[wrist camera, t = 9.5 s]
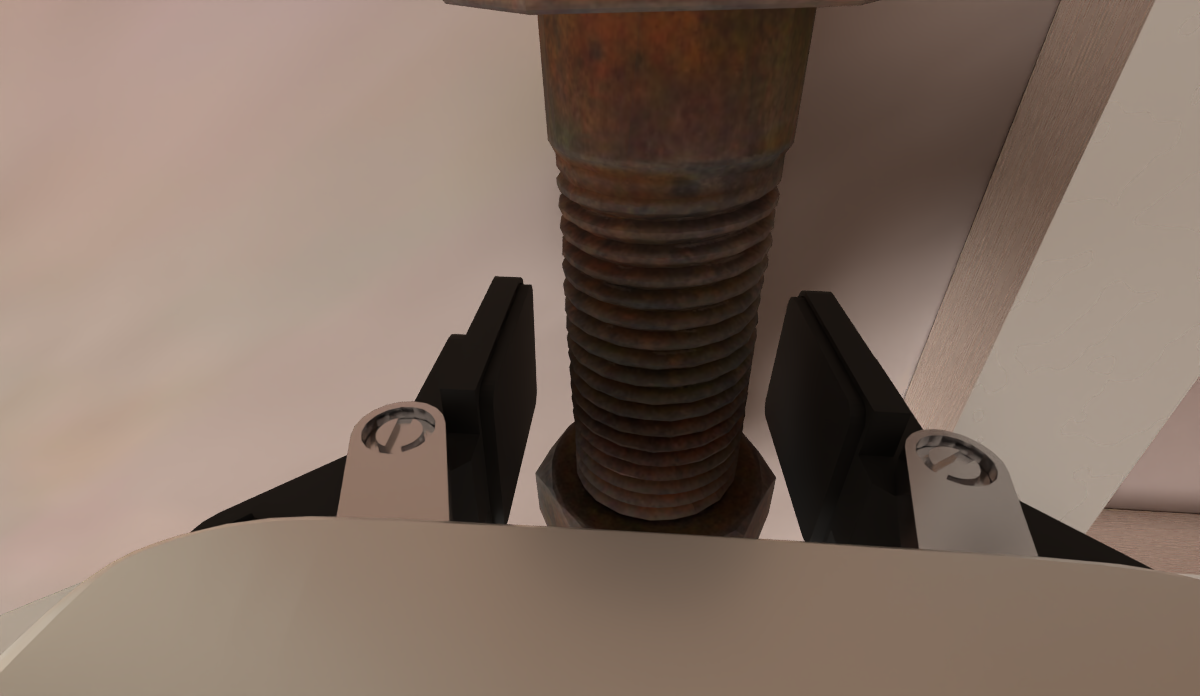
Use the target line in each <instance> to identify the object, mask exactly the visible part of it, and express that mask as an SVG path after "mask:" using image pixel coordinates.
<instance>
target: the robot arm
mask: <svg viewBox="0 0 1200 696" xmlns="http://www.w3.org/2000/svg"><path fill="white" fill-rule="evenodd" d="M536 396H537V384H536V359H535V335H534V311H533V289H532V285H524V284H523V279H522V278H521V277H499V276H495V277H494V279H493V281H492V283H491V285H490V287H489V289H488V291H487V293H486V295H485V297H484V299H483V301H482V303H481V305H480V307H479V309H478V311H477V313H476V315H475V317H474V319H473V321H472V323H471V325H470V327H469V330H468V332H467V334H466V335H463V334H452V335H451V336H450V337H449V338H448V340H447V342H446V344H445V346H444V347H443V349H442V351H441V353H440V355H439V357H438V359H437V361H436V362H435V364H434V366H433V368H432V370H431V372H430V374H429V375H428V377H427V379H426V381H425V383H424V385H423V387H422V388H421V390H420V392H419V394H418V396H417V398H416V400H415V401H411V402H398V403H393V404H388V405H385V406H383V407H380V408H378V409H375V410H373V411H372V412H370V413H369V414H367V415H366V416H364V417H363V418H362V419H361V420H360V421H359V422H358V423H357V424H356V425H355V426H354V429H353V431H352V433H351V436H350V442H349V448H348V453H347V455H346V456H344V457H342V458H340V459H337V460H335V461H333V462H331V463H329V464H326V465H324V466H322V467H320V468H317V469H315V470H313V471H311V472H309V473H306V474H304V475H302V476H300V477H297V478H295V479H293V480H291V481H289V482H286V483H284V484H282V485H280V486H278V487H275V488H273V489H271V490H269V491H266V492H264V493H262V494H260V495H258V496H255V497H253V498H251V499H249V500H246V501H244V502H242V503H240V504H238V505H235V506H233V507H231V508H229V509H226V510H224V511H222V512H220V513H218V514H216V515H214V516H213V517H211V518H209V519H207V520H205V521H204V522H202V523H201V524H200V525H199V526H197V527H196V528H195V529H194V530H192V531H191V532H190V533H186V534H182V535H179V536H175V537H172V538H169V539H166V540H163V541H160V542H157V543H154V544H152V545H149V546H146V547H144V548H141V549H138V550H136V551H133V552H131V553H129V554H127V555H126V556H124V557H122V558H120V559H118V560H116V561H114V562H112V563H110V564H108V565H107V566H105V567H104V568H102V569H101V570H99V571H98V572H96V573H95V574H93V575H92V576H90V577H89V578H88V579H86V580H85V581H84V582H81V583H79V584H76V585H74V586H71V587H69V588H66V589H64V590H61V591H59V592H56V593H54V594H52V595H49V596H47V597H44V598H42V599H39V600H37V601H34V602H32V603H29V604H27V605H24V606H22V607H20V608H17V609H15V610H12V611H10V612H7V613H5V614H2V615H0V696H1200V579H1196V578H1192V577H1188V576H1183V575H1179V574H1175V573H1170V572H1165V571H1159V570H1154V569H1152V568H1150V567H1148V566H1146V565H1144V564H1142V563H1140V562H1139V561H1137V560H1135V559H1133V558H1131V557H1129V556H1127V555H1125V554H1123V553H1121V552H1119V551H1117V550H1115V549H1113V548H1111V547H1109V546H1107V545H1105V544H1103V543H1101V542H1100V541H1098V540H1096V539H1094V538H1092V537H1090V536H1088V535H1086V534H1084V533H1082V532H1080V531H1078V530H1076V529H1074V528H1072V527H1070V526H1068V525H1066V524H1064V523H1062V522H1061V521H1059V520H1057V519H1055V518H1053V517H1051V516H1049V515H1047V514H1045V513H1043V512H1041V511H1039V510H1037V509H1035V508H1033V507H1031V506H1029V505H1027V504H1025V503H1023V502H1021V501H1020V500H1018V497H1017V494H1016V491H1015V488H1014V485H1013V482H1012V480H1011V477H1010V474H1009V471H1008V470H1007V468H1006V466H1005V464H1004V463H1003V461H1002V460H1001V459H1000V458H999V457H998V456H997V455H996V454H995V453H994V452H992V451H991V450H989V449H988V448H986V447H985V446H983V445H982V444H980V443H979V442H977V441H975V440H972V439H970V438H968V437H966V436H964V435H960V434H957V433H954V432H950V431H945V430H938V429H926V430H923V428H922V427H921V425H920V424H919V422H918V421H917V419H916V418H915V416H914V415H913V413H912V412H911V410H910V409H909V407H908V406H907V404H906V403H905V401H904V400H903V398H902V397H901V395H900V394H899V392H898V391H897V389H896V388H895V386H894V385H893V383H892V382H891V380H890V379H889V377H888V376H887V374H886V373H885V371H884V370H883V368H882V367H881V365H880V364H879V362H878V360H877V359H876V358H875V357H874V356H873V354H872V353H871V351H870V350H869V348H868V347H867V345H866V343H865V342H864V340H863V339H862V337H861V336H860V334H859V333H858V331H857V330H856V328H855V327H854V325H853V324H852V322H851V321H850V319H849V318H848V316H847V315H846V313H845V312H844V310H843V309H842V307H841V306H840V304H839V303H838V301H837V300H836V298H835V297H834V295H833V294H832V293H831V292H822V291H801V292H800V294H799V296H798V297H791V298H790V300H789V303H788V306H787V310H786V315H785V319H784V323H783V328H782V332H781V336H780V341H779V345H778V349H777V354H776V358H775V362H774V367H773V371H772V375H771V380H770V384H769V388H768V393H767V397H766V402H765V416H766V420H767V423H768V427H769V430H770V433H771V436H772V439H773V443H774V446H775V449H776V452H777V456H778V459H779V462H780V465H781V469H782V472H783V475H784V478H785V481H786V485H787V488H788V491H789V494H790V498H791V501H792V504H793V507H794V511H795V514H796V517H797V520H798V523H799V527H800V530H801V533H802V536H803V539H804V540H805V542H804V541H788V540H771V539H755V538H738V537H721V536H705V535H688V534H670V533H653V532H636V531H619V530H601V529H584V528H566V527H548V526H529V525H511V524H507V522H508V518H509V514H510V510H511V506H512V501H513V497H514V493H515V489H516V485H517V480H518V476H519V472H520V468H521V464H522V459H523V455H524V451H525V447H526V443H527V438H528V434H529V430H530V426H531V422H532V418H533V413H534V409H535V405H536Z"/></svg>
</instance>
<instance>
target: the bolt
mask: <svg viewBox="0 0 1200 696" xmlns="http://www.w3.org/2000/svg"><path fill="white" fill-rule="evenodd" d="M443 1H444V2H445V3H446V4H452V5H459V6H467V7H474V8H482V9H490V10H497V11H505V12H512V13H520V14H527V15H538V26H539V38H540V50H541V62H542V74H543V86H544V98H545V110H546V122H547V134H548V141H549V142H550V144H551V146H552V148H553V150H554V151H555V153H556V165H557V167H558V169H559V170H560V174H559V175H558V176H557V185H558V187H559V190H560V192H561V193H562V194H561V195H560V198H559V208H560V210H561V212H562V214H563V215H562V216H561V223H560V228H561V231H562V233H563V235H564V236H563V251H562V254H563V256H564V257H565V259H564V261H563V263H562V266H563V270H564V273H565V277H566V279H565V281H564V283H563V285H564V293H565V296H566V299H565V311H566V313H567V325H566V328H567V330H568V335H567V341H568V348H569V352H568V354H569V357H570V360H571V363H570V367H569V368H570V376H571V389H572V402H573V407H574V408H573V414H574V419H575V422H574V423H572V424H571V425H570V426H569V427H568V428H567V429H566V431H565V432H564V433H563V434H562V436H561V437H560V438H559V439H558V441H557V442H556V443H555V444H554V446H553V447H552V448H551V450H550V451H549V453H548V454H547V456H546V458H545V459H544V461H543V462H542V464H541V465H540V467H539V469H538V470H537V472H536V473H535V474H536V482H537V490H538V498H539V506H540V510H541V512H542V515H543V517H544V519H545V522H546V524H547V526H548V527H566V528H584V529H601V530H619V531H636V532H653V533H670V534H688V535H705V536H721V537H738V538H755V539H758V538H759V535H760V533H761V530H762V528H763V526H764V523H765V521H766V518H767V516H768V513H769V509H770V504H771V499H772V494H773V489H774V485H775V480H776V477H775V475H774V474H773V472H772V471H771V469H770V468H769V466H768V465H767V463H766V462H765V460H764V459H763V457H762V456H761V454H760V453H759V451H758V450H757V449H756V448H755V447H754V446H753V444H752V443H751V442H750V441H749V440H748V439H747V437H746V436H745V435H744V434H743V433H742V430H743V421H744V417H745V405H746V400H747V395H748V392H747V391H748V384H749V378H750V371H751V365H752V358H753V352H754V344H755V340H756V337H757V334H756V325H757V323H758V313H757V309H758V306H759V303H760V292H761V289H762V285H763V282H764V276H763V273H764V271H765V269H766V268H767V266H768V256H767V252H768V251H769V249H770V247H771V246H772V236H771V233H770V232H771V230H772V229H773V228H774V217H775V209H774V208H775V207H776V205H777V203H778V199H779V195H780V194H779V192H778V189H777V185H778V184H779V182H780V181H781V177H782V170H783V164H784V157H785V153H786V152H787V150H788V149H789V148H790V147H791V145H792V144H793V143H794V137H795V132H796V126H797V120H798V114H799V108H800V102H801V96H802V90H803V84H804V78H805V72H806V66H807V60H808V54H809V48H810V43H811V37H812V31H813V25H814V19H815V13H816V7H830V6H853V5H863V4H867V3H871V2H875V1H879V0H443Z"/></svg>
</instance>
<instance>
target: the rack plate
mask: <svg viewBox="0 0 1200 696" xmlns="http://www.w3.org/2000/svg"><path fill="white" fill-rule="evenodd" d="M1199 376H1200V0H1061V1H1060V4H1059V6H1058V9H1057V11H1056V14H1055V17H1054V19H1053V22H1052V24H1051V27H1050V29H1049V32H1048V34H1047V37H1046V39H1045V42H1044V45H1043V47H1042V50H1041V52H1040V55H1039V57H1038V60H1037V62H1036V65H1035V67H1034V70H1033V72H1032V75H1031V78H1030V80H1029V83H1028V85H1027V88H1026V90H1025V93H1024V95H1023V98H1022V100H1021V103H1020V106H1019V108H1018V111H1017V113H1016V116H1015V118H1014V121H1013V123H1012V126H1011V128H1010V131H1009V134H1008V136H1007V139H1006V141H1005V144H1004V146H1003V149H1002V151H1001V154H1000V156H999V159H998V162H997V164H996V167H995V169H994V172H993V174H992V177H991V179H990V182H989V184H988V187H987V190H986V192H985V195H984V197H983V200H982V202H981V205H980V207H979V210H978V212H977V215H976V218H975V220H974V223H973V225H972V228H971V230H970V233H969V235H968V238H967V240H966V243H965V245H964V248H963V251H962V253H961V256H960V258H959V261H958V263H957V266H956V268H955V271H954V273H953V276H952V279H951V281H950V284H949V286H948V289H947V291H946V294H945V296H944V299H943V301H942V304H941V307H940V309H939V312H938V314H937V317H936V319H935V322H934V324H933V327H932V329H931V332H930V335H929V337H928V340H927V342H926V345H925V347H924V350H923V352H922V355H921V357H920V360H919V363H918V365H917V368H916V370H915V373H914V375H913V378H912V380H911V383H910V385H909V388H908V390H907V393H906V396H905V398H904V401H905V403H906V404H907V406H908V407H909V409H910V410H911V412H912V413H913V415H914V416H915V418H916V419H917V421H918V422H919V424H920V425H921V427H922V428H923V430H926V429H938V430H945V431H950V432H954V433H957V434H960V435H964V436H966V437H968V438H970V439H972V440H975V441H977V442H979V443H980V444H982V445H983V446H985V447H986V448H988V449H989V450H991V451H992V452H994V453H995V454H996V455H997V456H998V457H999V458H1000V459H1001V460H1002V461H1003V463H1004V464H1005V466H1006V468H1007V470H1008V471H1009V474H1010V477H1011V480H1012V482H1013V485H1014V488H1015V491H1016V494H1017V497H1018V500H1020V501H1021V502H1023V503H1025V504H1027V505H1029V506H1031V507H1033V508H1035V509H1037V510H1039V511H1041V512H1043V513H1045V514H1047V515H1049V516H1051V517H1053V518H1055V519H1057V520H1059V521H1061V522H1062V523H1064V524H1066V525H1068V526H1070V527H1072V528H1074V529H1076V530H1078V531H1080V532H1082V533H1084V534H1086V535H1088V536H1090V537H1092V538H1094V539H1096V540H1098V541H1100V542H1101V543H1103V544H1105V545H1107V546H1109V547H1111V548H1113V549H1115V550H1117V551H1119V552H1121V553H1123V554H1125V555H1127V556H1129V557H1131V558H1133V559H1135V560H1137V561H1139V562H1140V563H1142V564H1144V565H1146V566H1148V567H1150V568H1152V569H1154V570H1159V571H1165V572H1170V573H1175V574H1179V575H1183V576H1188V577H1192V578H1196V579H1200V514H1185V513H1168V512H1151V511H1134V510H1117V509H1104V507H1105V506H1106V505H1107V503H1108V502H1109V500H1110V499H1111V498H1112V496H1113V495H1114V493H1115V492H1116V491H1117V489H1118V488H1119V487H1120V485H1121V484H1122V482H1123V481H1124V480H1125V478H1126V477H1127V475H1128V474H1129V473H1130V471H1131V470H1132V468H1133V467H1134V466H1135V464H1136V463H1137V462H1138V460H1139V459H1140V457H1141V456H1142V455H1143V453H1144V452H1145V450H1146V449H1147V448H1148V446H1149V445H1150V444H1151V442H1152V441H1153V439H1154V438H1155V437H1156V435H1157V434H1158V432H1159V431H1160V430H1161V428H1162V427H1163V426H1164V424H1165V423H1166V421H1167V420H1168V419H1169V417H1170V416H1171V414H1172V413H1173V412H1174V410H1175V409H1176V408H1177V406H1178V405H1179V403H1180V402H1181V401H1182V399H1183V398H1184V396H1185V395H1186V394H1187V392H1188V391H1189V390H1190V388H1191V387H1192V385H1193V384H1194V383H1195V381H1196V380H1197V378H1198V377H1199Z"/></svg>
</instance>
